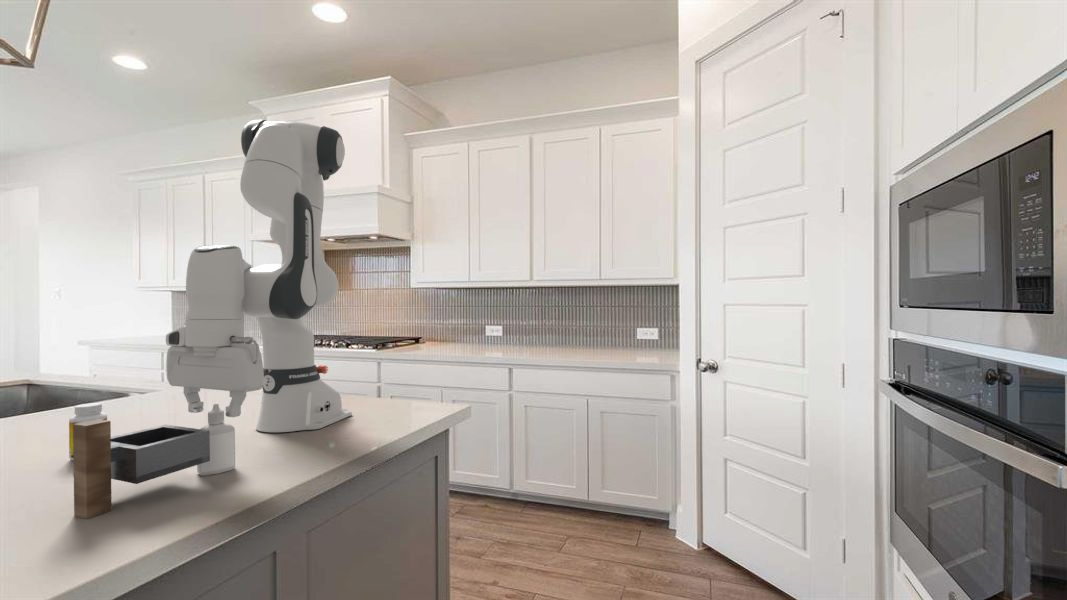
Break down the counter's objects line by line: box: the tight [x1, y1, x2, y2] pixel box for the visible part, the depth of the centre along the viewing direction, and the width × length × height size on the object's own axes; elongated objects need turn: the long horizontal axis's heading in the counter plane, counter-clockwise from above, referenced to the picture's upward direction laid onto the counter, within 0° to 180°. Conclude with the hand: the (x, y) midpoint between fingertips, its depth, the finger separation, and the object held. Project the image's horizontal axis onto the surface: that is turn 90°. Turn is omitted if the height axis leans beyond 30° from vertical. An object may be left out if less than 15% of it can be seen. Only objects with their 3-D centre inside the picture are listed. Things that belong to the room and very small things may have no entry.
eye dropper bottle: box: [196, 403, 236, 477], centre depth 89 cm, size 4×6×12 cm
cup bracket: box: [73, 419, 210, 520], centre depth 78 cm, size 15×11×13 cm
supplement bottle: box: [68, 402, 108, 462], centre depth 98 cm, size 6×6×10 cm
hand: (214, 414), depth 89 cm, fingers open, 8 cm apart
